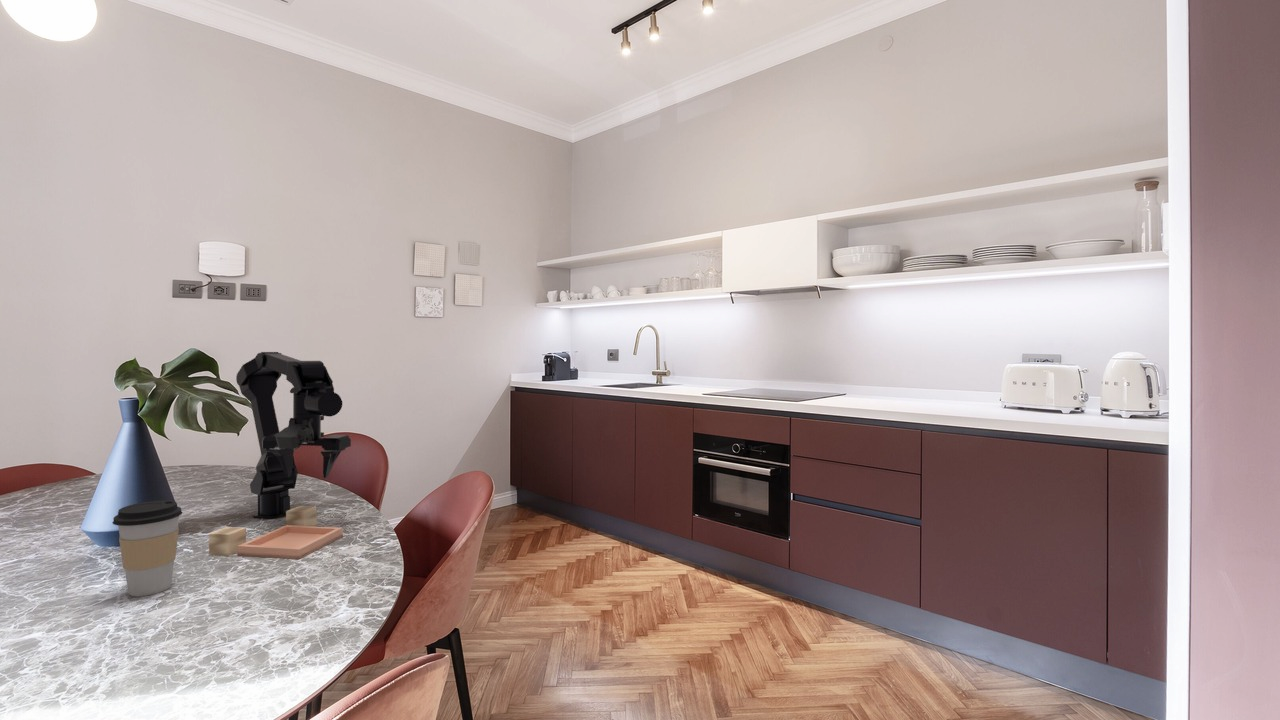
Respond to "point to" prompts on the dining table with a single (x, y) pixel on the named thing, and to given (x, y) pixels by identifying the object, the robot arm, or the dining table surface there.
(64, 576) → the dining table surface
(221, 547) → the block
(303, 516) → the block
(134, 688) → the dining table surface
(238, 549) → the tray
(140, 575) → the coffee cup
